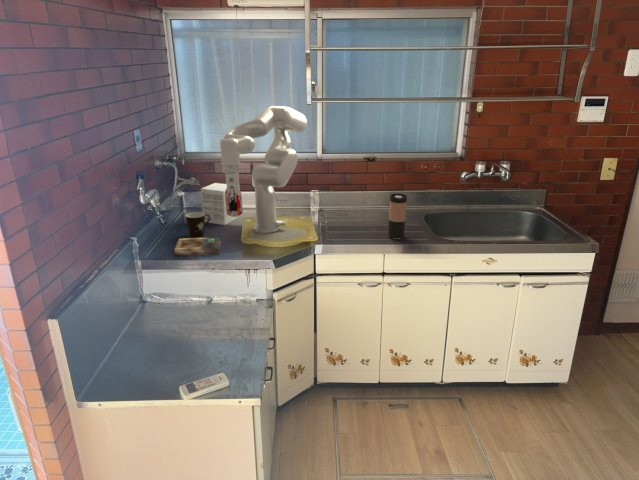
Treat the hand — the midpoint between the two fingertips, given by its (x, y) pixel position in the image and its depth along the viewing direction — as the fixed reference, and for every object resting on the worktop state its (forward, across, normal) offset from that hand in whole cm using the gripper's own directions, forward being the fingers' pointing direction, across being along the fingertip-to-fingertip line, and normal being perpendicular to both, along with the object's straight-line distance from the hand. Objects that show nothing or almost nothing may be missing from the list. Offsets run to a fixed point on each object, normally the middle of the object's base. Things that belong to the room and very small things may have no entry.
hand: (234, 207), depth 215 cm
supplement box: (+18, +35, +10) cm, 41 cm away
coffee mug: (+17, +13, +18) cm, 28 cm away
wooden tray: (+16, -6, +16) cm, 24 cm away
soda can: (+3, 0, 0) cm, 3 cm away
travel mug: (+18, +1, -73) cm, 76 cm away
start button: (+15, -9, +10) cm, 20 cm away
